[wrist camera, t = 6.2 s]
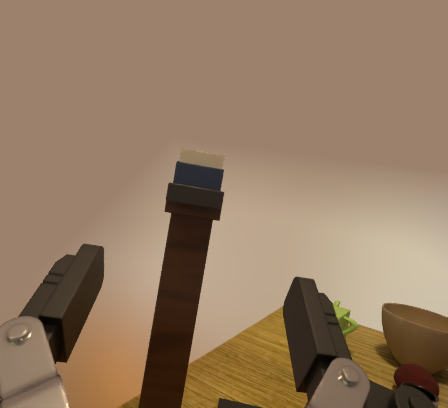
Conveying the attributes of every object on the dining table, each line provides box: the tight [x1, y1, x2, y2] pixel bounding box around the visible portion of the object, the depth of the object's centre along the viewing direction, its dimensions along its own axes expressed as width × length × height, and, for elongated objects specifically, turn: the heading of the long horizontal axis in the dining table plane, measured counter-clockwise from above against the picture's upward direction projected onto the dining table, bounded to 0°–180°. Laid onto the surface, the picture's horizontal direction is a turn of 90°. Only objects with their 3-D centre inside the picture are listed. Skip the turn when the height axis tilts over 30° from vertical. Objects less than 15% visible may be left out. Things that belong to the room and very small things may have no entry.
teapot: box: [332, 301, 358, 338], centre depth 82 cm, size 15×13×11 cm
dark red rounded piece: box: [394, 363, 439, 397], centre depth 63 cm, size 8×9×6 cm
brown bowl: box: [382, 303, 448, 375], centre depth 78 cm, size 18×18×12 cm
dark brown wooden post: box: [139, 201, 221, 408], centre depth 40 cm, size 9×6×31 cm, turn 5°
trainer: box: [166, 148, 224, 210], centre depth 35 cm, size 18×5×6 cm, turn 5°
